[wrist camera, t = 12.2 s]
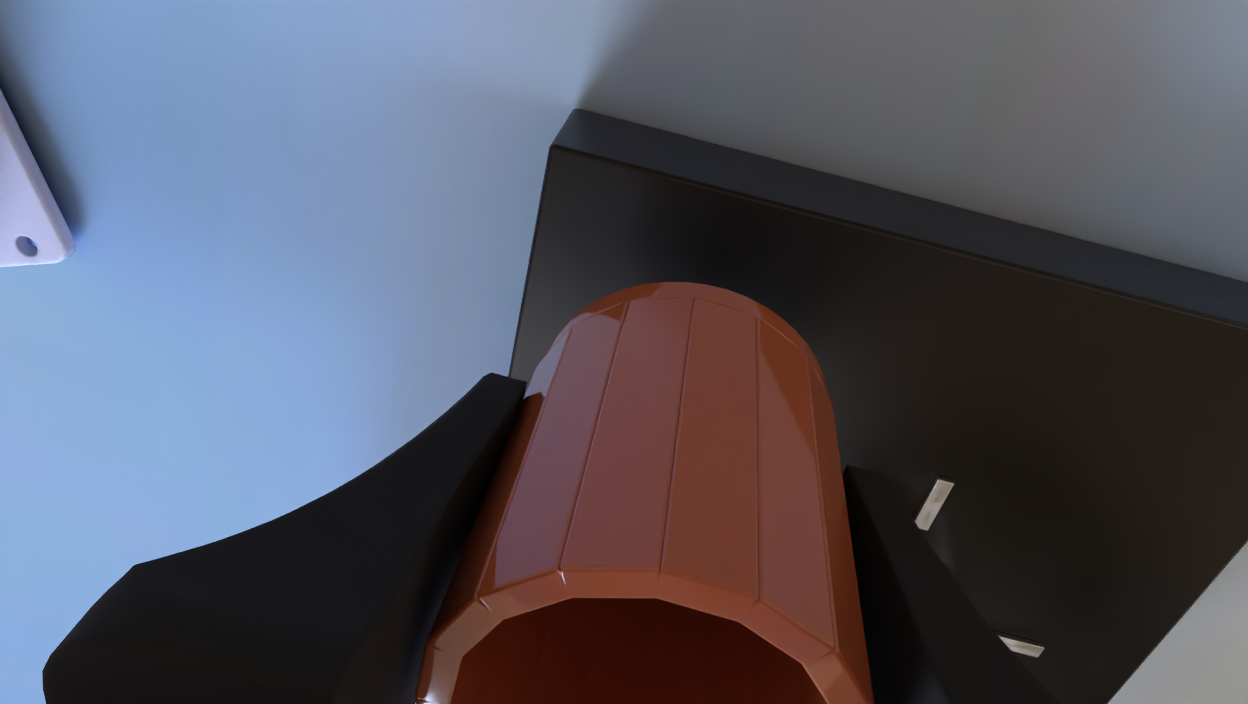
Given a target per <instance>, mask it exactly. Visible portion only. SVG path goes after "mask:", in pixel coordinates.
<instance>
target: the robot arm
mask: <svg viewBox="0 0 1248 704" xmlns="http://www.w3.org/2000/svg"><path fill="white" fill-rule="evenodd" d="M28 238H30V239H31V240H33V242H34V243H35V244H36V246H37V248H36V247H35V246H33V245H32V244H31V242H30V241H29V239H28ZM74 251H75V242H74V238H73V236H72V234H71V232H70V230H69V228H68V226H67V224H66V222H65V220H64V218H63V216H62V214H61V211H60V209H59V207H58V205H57V203H56V201H55V199H54V197H53V195H52V193H51V191H50V189H49V187H48V185H47V183H46V181H45V179H44V177H43V175H42V173H41V171H40V169H39V167H38V165H37V162H36V160H35V158H34V156H33V154H32V152H31V150H30V148H29V146H28V144H27V142H26V140H25V138H24V136H23V134H22V132H21V130H20V128H19V126H18V124H17V122H16V120H15V118H14V116H13V113H12V111H11V109H10V107H9V105H8V103H7V101H6V99H5V97H4V95H3V93H2V91H1V89H0V267H9V266H23V265H36V264H50V263H58V262H61V261H63V260H65V259H66V258H68V257H70V256H71V255H72V254H73V252H74ZM526 385H527V382H525V381H521V380H517V379H513V378H510V377H506V376H502V375H498V374H494V373H490V374H488V375H486V376H484V377H483V378H482V379H481V380H480V381H479V382H478V383H477V384H476V385H475V386H474V387H473V388H472V389H471V390H470V391H469V392H468V393H467V394H465V395H464V396H463V397H462V398H461V399H460V400H459V401H458V402H457V403H456V404H454V405H453V406H452V407H451V408H450V409H449V410H448V411H447V412H445V413H444V414H443V415H442V416H441V417H439V418H438V419H437V420H436V421H434V422H433V423H432V424H431V425H429V426H428V427H427V428H426V429H425V430H423V431H422V432H421V433H420V434H418V435H417V436H416V437H414V438H413V439H412V440H410V441H409V442H408V443H406V444H405V445H403V446H402V447H401V448H399V449H398V450H396V451H395V452H394V453H392V454H391V455H389V456H388V457H386V458H385V459H384V460H382V461H381V462H379V463H378V464H376V465H375V466H373V467H372V468H370V469H369V470H367V471H365V472H364V473H362V474H361V475H359V476H357V477H356V478H354V479H352V480H351V481H349V482H347V483H345V484H344V485H342V486H340V487H338V488H337V489H335V490H333V491H331V492H329V493H328V494H326V495H324V496H322V497H320V498H318V499H316V500H314V501H312V502H310V503H308V504H306V505H304V506H302V507H300V508H298V509H296V510H294V511H292V512H290V513H287V514H285V515H283V516H281V517H279V518H276V519H274V520H272V521H269V522H267V523H264V524H262V525H259V526H257V527H254V528H251V529H249V530H246V531H244V532H241V533H238V534H236V535H233V536H230V537H227V538H224V539H222V540H219V541H216V542H213V543H210V544H207V545H204V546H200V547H197V548H193V549H190V550H186V551H183V552H180V553H176V554H173V555H169V556H166V557H162V558H159V559H155V560H152V561H148V562H144V563H140V564H136V565H134V566H133V567H132V568H131V569H130V570H129V571H128V572H127V573H126V574H125V575H124V576H123V577H122V578H121V579H120V580H119V581H117V582H116V583H115V584H114V585H113V586H112V587H111V588H110V589H108V591H107V592H106V593H105V594H104V595H103V596H102V597H101V598H100V599H99V600H98V601H97V602H96V603H95V604H94V605H93V606H92V607H91V608H90V609H89V611H88V612H87V613H86V614H85V615H84V616H83V618H82V619H81V620H80V621H79V622H78V623H77V625H76V626H75V627H74V628H73V629H72V630H71V632H70V633H69V634H68V635H67V636H66V638H65V639H64V640H63V641H62V642H61V643H60V645H59V646H58V647H57V648H56V649H55V650H54V652H53V653H52V654H51V655H50V657H49V659H48V661H47V663H46V665H45V667H44V669H43V691H44V695H45V700H46V704H415V702H416V699H415V698H416V696H415V690H416V686H417V681H418V677H419V672H420V667H421V663H422V658H423V653H424V649H425V644H426V641H427V639H428V636H429V634H430V631H431V629H432V626H433V624H434V621H435V619H436V616H437V614H438V611H439V609H440V606H441V604H442V601H443V599H444V596H445V594H446V591H447V589H448V586H449V584H450V581H451V579H452V576H453V574H454V571H455V569H456V566H457V564H458V561H459V559H460V556H461V554H462V551H463V549H464V546H465V544H466V541H467V539H468V536H469V534H470V531H471V529H472V526H473V524H474V521H475V519H476V516H477V514H478V511H479V509H480V507H481V504H482V502H483V499H484V497H485V494H486V492H487V489H488V487H489V484H490V482H491V479H492V477H493V474H494V472H495V469H496V467H497V464H498V462H499V459H500V457H501V454H502V452H503V449H504V447H505V444H506V442H507V440H508V438H509V436H510V433H511V431H512V428H513V426H514V423H515V421H516V418H517V416H518V413H519V411H520V408H521V406H522V403H523V401H524V396H525V391H526ZM842 476H843V484H844V491H845V498H846V505H847V512H848V519H849V526H850V533H851V540H852V547H853V554H854V561H855V568H856V575H857V583H858V590H859V597H860V604H861V611H862V618H863V625H864V632H865V639H866V646H867V653H868V660H869V667H870V674H871V682H872V689H873V696H874V703H875V704H1062V703H1061V702H1060V701H1059V700H1058V699H1057V698H1056V697H1055V696H1053V695H1052V694H1051V693H1050V692H1049V691H1048V689H1047V688H1046V687H1045V686H1044V685H1043V684H1042V683H1041V682H1040V681H1039V680H1038V679H1037V678H1036V677H1035V676H1034V675H1033V674H1032V673H1031V672H1030V671H1029V670H1028V669H1027V667H1026V666H1025V665H1024V664H1023V663H1022V662H1021V661H1020V660H1019V659H1018V657H1017V656H1016V655H1015V654H1014V653H1013V652H1012V651H1011V650H1010V649H1009V647H1008V646H1007V645H1006V644H1005V643H1004V642H1003V641H1002V640H1001V638H1000V637H999V636H998V635H997V634H996V632H995V631H994V630H993V629H992V628H991V626H990V625H989V624H988V623H987V622H986V620H985V619H984V618H983V616H982V615H981V614H980V613H979V611H978V610H977V609H976V607H975V606H974V605H973V604H972V602H971V601H970V600H969V598H968V597H967V596H966V595H965V593H964V592H963V591H962V589H961V588H960V587H959V585H958V584H957V582H956V581H955V580H954V578H953V577H952V576H951V574H950V573H949V571H948V570H947V569H946V567H945V566H944V564H943V563H942V561H941V560H940V559H939V557H938V556H937V554H936V553H935V551H934V550H933V548H932V547H931V545H930V544H929V542H928V541H927V539H926V538H925V536H924V535H923V533H922V532H921V530H920V529H919V527H918V526H917V524H916V523H915V521H914V520H913V518H912V517H911V515H910V514H909V512H908V511H907V509H906V507H905V506H904V504H903V503H902V501H901V500H900V498H899V497H898V495H897V494H896V492H895V491H894V489H893V488H892V486H891V485H890V483H889V482H888V480H887V479H886V477H885V476H884V475H883V474H881V473H877V472H874V471H870V470H866V469H862V468H858V467H854V466H850V465H846V467H845V469H844V472H843V474H842Z"/></svg>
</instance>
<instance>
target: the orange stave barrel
mask: <svg viewBox="0 0 1248 704" xmlns="http://www.w3.org/2000/svg"><path fill="white" fill-rule="evenodd" d="M415 696H416V698H415V699H416V703H417V704H875V703H874V696H873V689H872V682H871V674H870V667H869V660H868V653H867V646H866V639H865V632H864V625H863V618H862V611H861V604H860V597H859V590H858V583H857V575H856V568H855V561H854V554H853V547H852V540H851V533H850V526H849V519H848V512H847V505H846V498H845V491H844V484H843V476H842V469H841V462H840V455H839V448H838V441H837V434H836V427H835V420H834V413H833V406H832V403H831V400H830V398H829V393H828V389H827V385H826V381H825V377H824V374H823V372H822V370H821V367H820V365H819V363H818V361H817V359H816V357H815V356H814V354H813V352H812V351H811V349H810V348H809V346H808V344H807V343H806V342H805V341H804V340H803V339H802V337H801V336H800V335H799V334H798V333H797V332H796V330H795V329H793V328H792V327H791V326H790V325H789V324H788V323H787V322H786V321H785V320H783V319H782V318H781V317H780V316H778V315H777V314H775V313H774V312H772V311H771V310H770V309H768V308H767V307H765V306H764V305H762V304H760V303H758V302H756V301H754V300H752V299H750V298H748V297H746V296H743V295H741V294H738V293H735V292H733V291H730V290H727V289H724V288H719V287H715V286H711V285H707V284H699V283H691V282H658V283H650V284H642V285H638V286H634V287H630V288H626V289H623V290H620V291H617V292H615V293H612V294H610V295H607V296H605V297H603V298H601V299H599V300H597V301H595V302H593V303H592V304H590V305H588V306H587V307H585V308H584V309H583V310H581V311H580V312H578V313H577V314H576V315H574V316H573V317H572V318H571V319H570V320H569V321H568V322H567V323H566V324H565V325H564V326H563V327H562V328H561V329H560V330H559V332H558V333H557V334H556V336H555V337H554V338H553V340H552V341H551V342H550V344H549V346H548V348H547V350H546V352H545V354H544V355H543V357H542V360H541V362H540V363H539V364H538V366H537V368H536V369H535V372H534V374H533V377H532V379H531V382H530V384H529V387H528V389H527V392H526V394H525V397H524V401H523V403H522V406H521V408H520V411H519V413H518V416H517V418H516V421H515V423H514V426H513V428H512V431H511V433H510V436H509V438H508V440H507V442H506V444H505V447H504V449H503V452H502V454H501V457H500V459H499V462H498V464H497V467H496V469H495V472H494V474H493V477H492V479H491V482H490V484H489V487H488V489H487V492H486V494H485V497H484V499H483V502H482V504H481V507H480V509H479V511H478V514H477V516H476V519H475V521H474V524H473V526H472V529H471V531H470V534H469V536H468V539H467V541H466V544H465V546H464V549H463V551H462V554H461V556H460V559H459V561H458V564H457V566H456V569H455V571H454V574H453V576H452V579H451V581H450V584H449V586H448V589H447V591H446V594H445V596H444V599H443V601H442V604H441V606H440V609H439V611H438V614H437V616H436V619H435V621H434V624H433V626H432V629H431V631H430V634H429V636H428V639H427V641H426V644H425V649H424V653H423V658H422V663H421V667H420V672H419V677H418V681H417V686H416V690H415Z"/></svg>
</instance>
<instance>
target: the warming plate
mask: <svg viewBox="0 0 1248 704" xmlns="http://www.w3.org/2000/svg"><path fill="white" fill-rule="evenodd" d="M658 282H691V283H699V284H707V285H711V286H715V287H719V288H724V289H727V290H730V291H733V292H735V293H738V294H741V295H743V296H746V297H748V298H750V299H752V300H754V301H756V302H758V303H760V304H762V305H764V306H765V307H767V308H768V309H770V310H771V311H772V312H774V313H775V314H777V315H778V316H780V317H781V318H782V319H783V320H785V321H786V322H787V323H788V324H789V325H790V326H791V327H792V328H793V329H795V330H796V332H797V333H798V334H799V335H800V336H801V337H802V339H803V340H804V341H805V342H806V343H807V344H808V346H809V348H810V349H811V351H812V352H813V354H814V356H815V357H816V359H817V361H818V363H819V365H820V367H821V370H822V372H823V374H824V377H825V381H826V385H827V389H828V393H829V398H830V400H831V403H832V406H833V413H834V420H835V427H836V434H837V441H838V448H839V455H840V462H841V469H842V474H843V472H844V469H845V467H846V465H850V466H854V467H858V468H862V469H866V470H870V471H874V472H877V473H881V474H883V475H884V476H885V477H886V479H887V480H888V482H889V483H890V485H891V486H892V488H893V489H894V491H895V492H896V494H897V495H898V497H899V498H900V500H901V501H902V503H903V504H904V506H905V507H906V509H907V511H908V512H909V514H910V515H911V517H912V518H913V520H914V521H915V523H916V524H917V526H918V527H919V529H920V530H921V532H922V533H923V535H924V536H925V538H926V539H927V541H928V542H929V544H930V545H931V547H932V548H933V550H934V551H935V553H936V554H937V556H938V557H939V559H940V560H941V561H942V563H943V564H944V566H945V567H946V569H947V570H948V571H949V573H950V574H951V575H952V577H953V578H954V580H955V581H956V582H957V584H958V585H959V587H960V588H961V589H962V591H963V592H964V593H965V595H966V596H967V597H968V598H969V600H970V601H971V602H972V604H973V605H974V606H975V607H976V609H977V610H978V611H979V613H980V614H981V615H982V616H983V618H984V619H985V620H986V622H987V623H988V624H989V625H990V626H991V628H992V629H993V630H994V631H995V632H996V634H997V635H998V636H999V637H1000V638H1001V640H1002V641H1003V642H1004V643H1005V644H1006V645H1007V646H1008V647H1009V649H1010V650H1011V651H1012V652H1013V653H1014V654H1015V655H1016V656H1017V657H1018V659H1019V660H1020V661H1021V662H1022V663H1023V664H1024V665H1025V666H1026V667H1027V669H1028V670H1029V671H1030V672H1031V673H1032V674H1033V675H1034V676H1035V677H1036V678H1037V679H1038V680H1039V681H1040V682H1041V683H1042V684H1043V685H1044V686H1045V687H1046V688H1047V689H1048V691H1049V692H1050V693H1051V694H1052V695H1053V696H1055V697H1056V698H1057V699H1058V700H1059V701H1060V702H1061V703H1062V704H1108V702H1109V701H1110V700H1111V699H1112V698H1113V697H1114V695H1115V694H1116V693H1117V692H1118V691H1119V690H1120V688H1121V687H1122V686H1123V685H1124V684H1125V683H1126V682H1127V680H1128V679H1129V678H1130V677H1131V676H1132V675H1133V673H1134V672H1135V671H1136V670H1137V669H1138V668H1139V666H1140V665H1141V664H1142V663H1143V662H1144V661H1145V659H1146V658H1147V657H1148V656H1149V655H1150V654H1151V653H1152V651H1153V650H1154V649H1155V648H1156V647H1157V646H1158V644H1159V643H1160V642H1161V641H1162V640H1163V639H1164V637H1165V636H1166V635H1167V634H1168V633H1169V632H1170V630H1171V629H1172V628H1173V627H1174V626H1175V625H1176V624H1177V622H1178V621H1179V620H1180V619H1181V618H1182V617H1183V615H1184V614H1185V613H1186V612H1187V611H1188V610H1189V608H1190V607H1191V606H1192V605H1193V604H1194V603H1195V601H1196V600H1197V599H1198V598H1199V597H1200V596H1201V595H1202V593H1203V592H1204V591H1205V590H1206V589H1207V588H1208V586H1209V585H1210V584H1211V583H1212V582H1213V581H1214V579H1215V578H1216V577H1217V576H1218V575H1219V574H1220V572H1221V571H1222V570H1223V569H1224V568H1225V567H1226V566H1227V564H1228V563H1229V562H1230V561H1231V560H1232V559H1233V557H1234V556H1235V555H1236V554H1237V553H1238V552H1239V550H1240V549H1241V548H1242V547H1243V546H1244V545H1245V544H1246V542H1247V541H1248V283H1244V282H1240V281H1237V280H1233V279H1229V278H1225V277H1221V276H1217V275H1214V274H1210V273H1206V272H1202V271H1198V270H1194V269H1191V268H1187V267H1183V266H1179V265H1175V264H1171V263H1168V262H1164V261H1160V260H1156V259H1152V258H1148V257H1145V256H1141V255H1137V254H1133V253H1129V252H1125V251H1122V250H1118V249H1114V248H1110V247H1106V246H1102V245H1099V244H1095V243H1091V242H1087V241H1083V240H1079V239H1076V238H1072V237H1068V236H1064V235H1060V234H1056V233H1053V232H1049V231H1045V230H1041V229H1037V228H1033V227H1030V226H1026V225H1022V224H1018V223H1014V222H1010V221H1007V220H1003V219H999V218H995V217H991V216H987V215H983V214H980V213H976V212H972V211H968V210H964V209H960V208H957V207H953V206H949V205H945V204H941V203H937V202H934V201H930V200H926V199H922V198H918V197H914V196H911V195H907V194H903V193H899V192H895V191H891V190H888V189H884V188H880V187H876V186H872V185H868V184H865V183H861V182H857V181H853V180H849V179H845V178H842V177H838V176H834V175H830V174H826V173H822V172H819V171H815V170H811V169H807V168H803V167H799V166H796V165H792V164H788V163H784V162H780V161H776V160H773V159H769V158H765V157H761V156H757V155H753V154H750V153H746V152H742V151H738V150H734V149H730V148H727V147H723V146H719V145H715V144H711V143H707V142H704V141H700V140H696V139H692V138H688V137H684V136H681V135H677V134H673V133H669V132H665V131H661V130H658V129H654V128H650V127H646V126H642V125H638V124H635V123H631V122H627V121H623V120H619V119H615V118H612V117H608V116H604V115H600V114H596V113H592V112H588V111H585V110H581V109H574V110H573V111H572V113H571V114H570V116H569V117H568V119H567V121H566V122H565V124H564V125H563V127H562V128H561V130H560V132H559V133H558V135H557V136H556V138H555V139H554V141H553V143H552V144H551V146H550V147H549V153H548V158H547V164H546V170H545V175H544V181H543V186H542V192H541V197H540V203H539V209H538V214H537V220H536V225H535V231H534V236H533V242H532V247H531V253H530V259H529V264H528V270H527V275H526V281H525V286H524V292H523V298H522V303H521V309H520V314H519V320H518V325H517V331H516V336H515V342H514V348H513V353H512V359H511V364H510V370H509V375H508V377H510V378H513V379H517V380H521V381H525V382H527V385H526V391H525V394H526V392H527V389H528V387H529V384H530V382H531V379H532V377H533V374H534V372H535V369H536V368H537V366H538V364H539V363H540V362H541V360H542V357H543V355H544V354H545V352H546V350H547V348H548V346H549V344H550V342H551V341H552V340H553V338H554V337H555V336H556V334H557V333H558V332H559V330H560V329H561V328H562V327H563V326H564V325H565V324H566V323H567V322H568V321H569V320H570V319H571V318H572V317H573V316H574V315H576V314H577V313H578V312H580V311H581V310H583V309H584V308H585V307H587V306H588V305H590V304H592V303H593V302H595V301H597V300H599V299H601V298H603V297H605V296H607V295H610V294H612V293H615V292H617V291H620V290H623V289H626V288H630V287H634V286H638V285H642V284H650V283H658ZM524 397H525V396H524Z"/></svg>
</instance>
